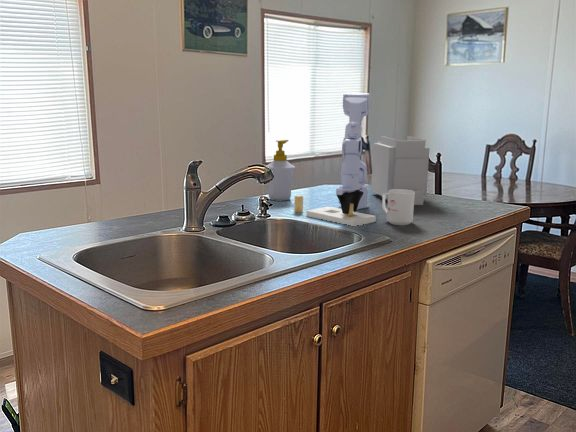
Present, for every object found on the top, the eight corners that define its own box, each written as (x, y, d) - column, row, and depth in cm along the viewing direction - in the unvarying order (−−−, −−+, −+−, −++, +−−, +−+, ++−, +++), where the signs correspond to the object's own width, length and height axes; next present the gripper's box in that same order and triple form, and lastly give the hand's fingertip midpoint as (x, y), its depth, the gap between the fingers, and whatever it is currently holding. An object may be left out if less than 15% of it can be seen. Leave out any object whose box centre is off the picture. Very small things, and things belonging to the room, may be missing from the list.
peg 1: (298, 210, 209) (298, 195, 208) (304, 212, 207) (304, 196, 206) (292, 211, 207) (292, 196, 206) (298, 213, 205) (298, 197, 203)
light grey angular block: (390, 205, 222) (393, 140, 217) (370, 193, 248) (373, 135, 242) (430, 204, 225) (435, 140, 220) (406, 193, 251) (410, 135, 245)
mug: (417, 223, 192) (419, 191, 189) (403, 227, 186) (405, 194, 183) (389, 217, 200) (390, 187, 198) (374, 221, 194) (375, 189, 192)
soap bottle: (300, 198, 233) (301, 140, 228) (284, 203, 223) (285, 142, 217) (275, 195, 240) (276, 138, 235) (258, 200, 229) (258, 140, 224)
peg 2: (354, 220, 194) (355, 203, 193) (349, 222, 192) (349, 205, 190) (347, 219, 196) (348, 202, 195) (341, 220, 194) (342, 203, 193)
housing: (328, 211, 208) (328, 206, 208) (375, 221, 193) (375, 216, 192) (306, 216, 200) (306, 210, 200) (353, 226, 185) (354, 221, 184)
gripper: (352, 170, 198) (351, 207, 201) (329, 174, 187) (328, 214, 190) (369, 172, 194) (367, 210, 197) (346, 177, 183) (345, 217, 186)
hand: (349, 212), depth 193 cm, fingers open, 4 cm apart
